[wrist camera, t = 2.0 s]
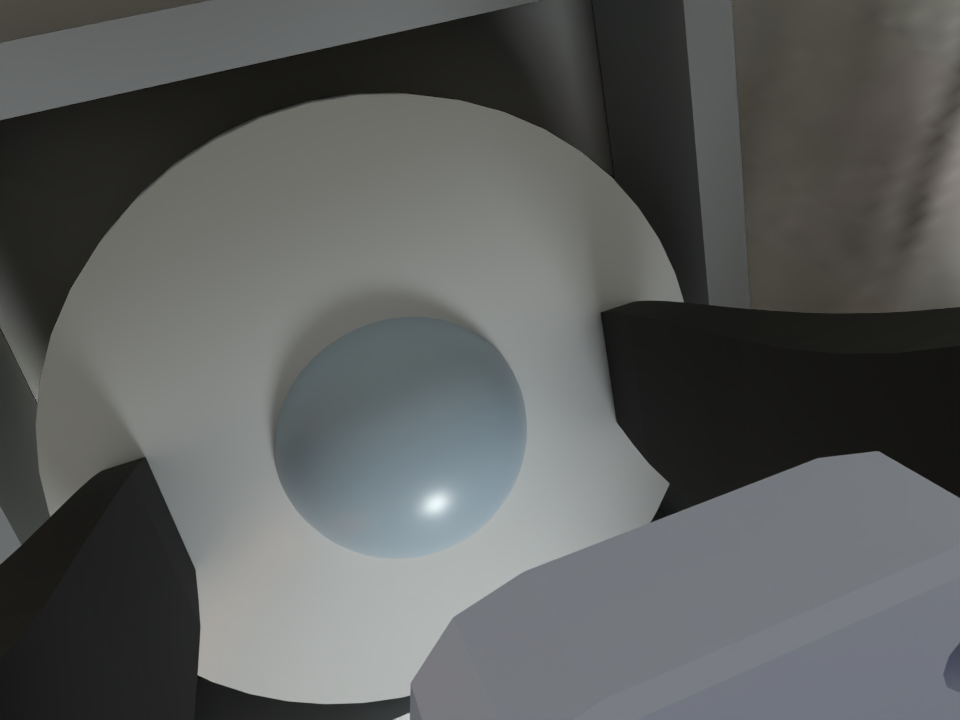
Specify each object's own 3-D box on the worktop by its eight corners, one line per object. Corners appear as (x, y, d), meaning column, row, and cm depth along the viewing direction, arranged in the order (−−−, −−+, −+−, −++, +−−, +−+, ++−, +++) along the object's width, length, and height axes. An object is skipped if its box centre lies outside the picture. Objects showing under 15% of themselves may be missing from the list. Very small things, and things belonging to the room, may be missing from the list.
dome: (587, 30, 13) (727, 13, 9) (651, 513, 17) (767, 631, 13) (-50, 178, 11) (-181, 231, 7) (194, 688, 15) (186, 882, 11)
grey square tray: (625, -70, 14) (725, -104, 11) (689, 520, 19) (768, 595, 16) (-183, 97, 11) (-312, 106, 8) (151, 729, 16) (137, 861, 13)
